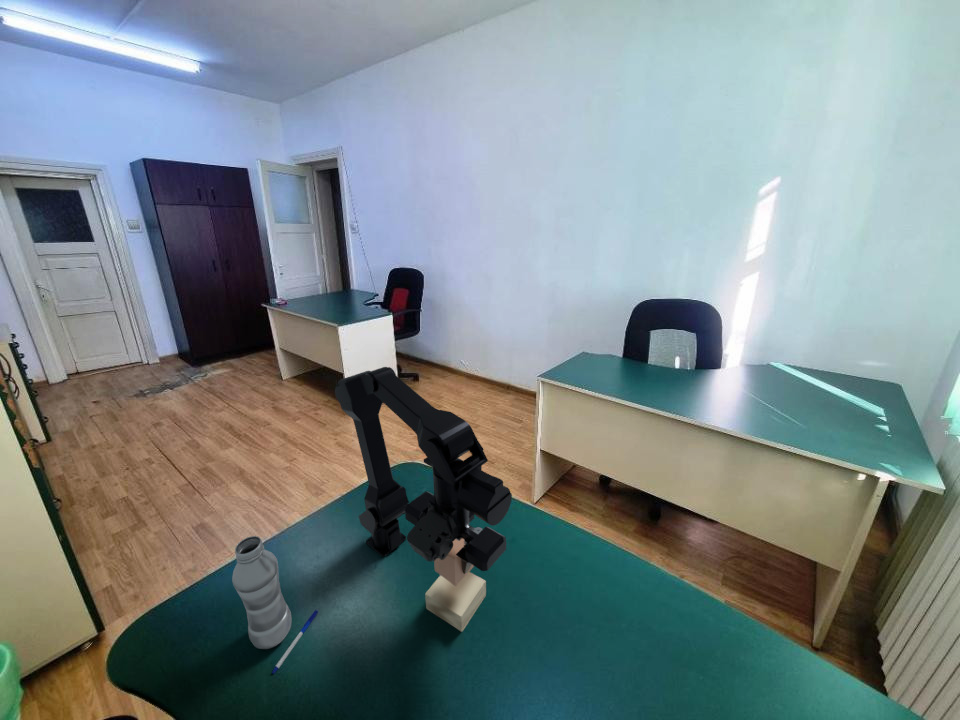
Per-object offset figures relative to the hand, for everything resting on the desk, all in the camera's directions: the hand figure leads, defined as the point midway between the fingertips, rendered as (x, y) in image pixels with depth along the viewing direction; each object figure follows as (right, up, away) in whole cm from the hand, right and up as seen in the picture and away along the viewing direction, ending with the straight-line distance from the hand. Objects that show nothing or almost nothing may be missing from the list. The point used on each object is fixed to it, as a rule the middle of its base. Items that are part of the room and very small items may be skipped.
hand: (454, 563), depth 67 cm
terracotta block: (0, -1, 0) cm, 1 cm away
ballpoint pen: (-27, -12, -3) cm, 29 cm away
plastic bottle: (-31, -11, -2) cm, 33 cm away
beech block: (0, -9, +3) cm, 10 cm away
